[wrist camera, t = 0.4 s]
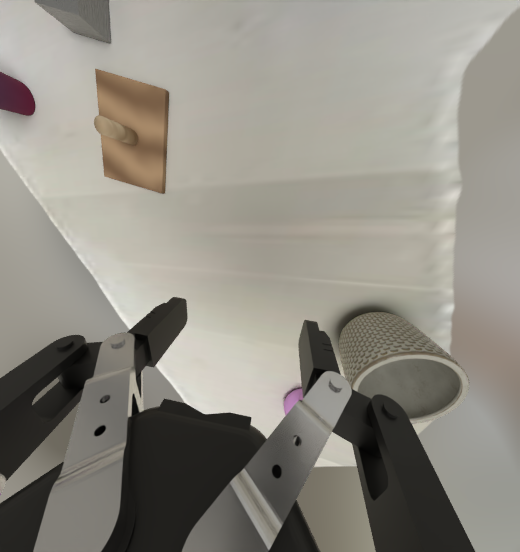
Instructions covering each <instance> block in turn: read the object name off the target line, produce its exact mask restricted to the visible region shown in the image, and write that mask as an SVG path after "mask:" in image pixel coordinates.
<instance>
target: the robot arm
mask: <svg viewBox="0 0 520 552" xmlns="http://www.w3.org/2000/svg"><path fill="white" fill-rule="evenodd" d="M186 322H187V304H186V300H185V299H183V298H177V297H173V298H171V299H170V300H169V301H168V302H167V303H163V304H161V305H159V306H157V307H155V308H154V309H153V310H152V311H151V312H150V313H149V314H147V315H146V317H144V318H143V319H142V320H141V321H139V322H138V323H137V324H136V325H135V326H134V327H133V328H132V329H130V330H129V331H128V332H127V333H118V334H115V335H113V336H110V337H109V338H107V339H106V340H105V341H104V342H94V343H86V341H85V338H84V337H83V336H80V335H71V336H67V337H63V338H61V339H58V340H56V341H54V342H53V343H51V344H50V345H48V346H47V347H45V348H44V349H42V350H41V351H40V352H38V353H37V354H35V355H34V356H32V357H31V358H29V359H28V360H26V361H25V362H23V363H22V364H21V365H19V366H18V367H16V368H15V369H13V370H12V371H10V372H9V373H7V374H6V375H5V376H3V377H2V378H0V495H1V493H2V491H3V489H4V486H5V483H6V481H7V480H8V478H9V477H10V476H11V475H12V474H13V473H14V472H15V471H16V470H17V469H18V468H19V467H20V466H21V464H22V463H23V462H24V461H25V460H26V459H27V458H28V457H29V456H30V455H31V454H32V452H33V451H34V450H35V449H36V448H37V447H38V446H39V445H40V444H41V443H42V442H43V441H44V440H45V438H46V437H47V436H48V435H49V434H50V433H51V432H52V431H53V430H54V429H55V428H56V426H57V425H58V424H59V423H60V422H61V421H62V420H63V419H64V418H65V417H66V416H67V415H68V413H69V412H70V411H71V410H72V409H73V408H74V407H75V406H76V405H77V404H78V403H79V402H80V404H79V408H78V412H77V415H76V419H75V423H74V426H73V430H72V434H71V438H70V441H69V445H68V449H67V453H66V456H65V460H64V462H62V463H61V464H59V465H58V466H56V467H55V468H53V469H52V470H50V471H49V472H47V473H46V474H44V475H43V476H41V477H40V478H38V479H37V480H35V481H34V482H32V483H31V484H29V485H27V486H26V487H25V488H23V489H21V490H20V491H18V492H17V493H15V494H14V495H12V496H11V497H9V498H8V499H6V500H5V501H3V502H2V503H0V552H320V550H319V548H318V546H317V544H316V542H315V539H314V537H313V535H312V533H311V531H310V528H309V526H308V524H307V522H306V520H305V517H304V516H303V513H302V511H301V509H300V507H299V504H298V502H297V500H296V499H297V497H298V495H299V493H300V491H301V489H302V487H303V486H304V484H305V482H306V480H307V478H308V476H309V474H310V472H311V470H312V468H313V467H314V465H315V463H316V461H317V459H318V457H319V455H320V453H321V451H322V450H323V448H324V446H325V444H326V442H327V440H328V438H329V436H330V434H331V432H334V433H335V434H337V435H339V436H340V437H342V438H344V439H345V440H347V441H349V442H351V443H352V445H353V450H354V454H355V459H356V463H357V468H358V472H359V477H360V481H361V486H362V490H363V495H364V500H365V504H366V509H367V514H368V518H369V523H370V527H371V532H372V536H373V541H374V545H375V550H376V552H475V551H474V549H473V546H472V545H471V542H470V540H469V538H468V536H467V534H466V533H465V530H464V528H463V526H462V524H461V523H460V520H459V518H458V516H457V514H456V512H455V510H454V508H453V506H452V504H451V502H450V500H449V498H448V496H447V494H446V492H445V490H444V488H443V486H442V484H441V482H440V480H439V478H438V476H437V474H436V472H435V470H434V468H433V466H432V464H431V462H430V460H429V458H428V456H427V454H426V452H425V450H424V448H423V446H422V444H421V442H420V440H419V438H418V436H417V434H416V432H415V430H414V428H413V426H412V424H411V422H410V420H409V418H408V416H407V414H406V412H405V411H404V409H403V408H402V407H401V406H400V405H399V404H398V403H397V402H396V401H394V400H393V399H391V398H390V397H388V396H385V395H381V394H377V395H374V396H373V398H372V399H371V398H369V397H367V396H365V395H363V394H361V393H359V392H357V391H355V390H353V389H352V388H351V386H350V384H349V383H348V381H347V380H346V379H345V378H344V377H343V376H342V375H341V374H340V371H339V367H338V364H337V361H336V357H335V354H334V352H333V348H332V344H331V341H330V338H329V337H328V335H327V334H326V333H325V332H324V331H319V328H318V324H317V322H314V321H308V320H305V321H304V323H303V327H302V331H301V334H300V338H299V358H300V370H301V381H302V393H303V400H302V401H301V400H299V401H298V402H297V403H296V404H295V405H294V406H293V408H292V409H291V410H290V411H289V413H288V414H287V415H286V416H285V418H284V419H283V420H282V421H281V423H280V424H279V425H278V426H277V428H276V429H275V430H274V431H273V433H272V434H271V435H270V436H269V438H268V439H266V438H265V436H264V435H263V434H262V433H261V432H260V431H259V430H257V429H256V428H255V427H253V426H251V425H250V423H251V417H248V416H243V415H238V414H233V413H219V414H203V413H201V412H199V411H197V410H196V409H194V408H192V407H191V406H189V405H187V404H185V403H181V402H176V401H172V400H167V399H164V400H163V402H162V403H161V405H160V407H154V408H150V409H147V410H144V408H143V372H142V370H143V369H144V367H145V366H150V367H154V366H155V365H156V364H157V362H158V361H159V360H160V358H161V357H162V356H163V354H164V353H165V352H166V350H167V349H168V348H169V346H170V345H171V344H172V342H173V341H174V340H175V338H176V337H177V336H178V335H179V333H180V332H181V331H182V329H183V328H184V327H185V325H186ZM57 377H58V379H59V382H58V383H57V384H56V385H55V386H54V387H53V388H52V389H50V390H49V391H48V392H47V393H46V394H45V395H44V396H43V397H42V398H40V399H39V400H38V401H37V402H36V403H35V404H34V405H32V402H33V400H34V398H35V396H36V395H37V394H38V393H39V392H40V391H41V390H42V389H44V388H45V387H46V386H47V385H49V384H50V383H51V382H52V381H53V380H54V379H56V378H57Z"/></svg>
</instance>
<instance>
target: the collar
mask: <svg viewBox="0 0 520 552" xmlns="http://www.w3.org/2000/svg"><path fill="white" fill-rule="evenodd" d="M35 3H37V4H38V5H39V6H40V7H42V8H43V9H44V10H45V11H47V12H48V13H49V14H51V15H52V16H53V17H54V18H56V19H57V20H58V21H60V22H61V23H62V24H63V25H65V26H66V27H67V28H69V29H70V30H71V31H72V32H74V33H77V34H80V35H84V36H87V37H90V38H94V39H97V40H100V41H104V42H107V43H111V35H110V18H109V0H35Z"/></svg>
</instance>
